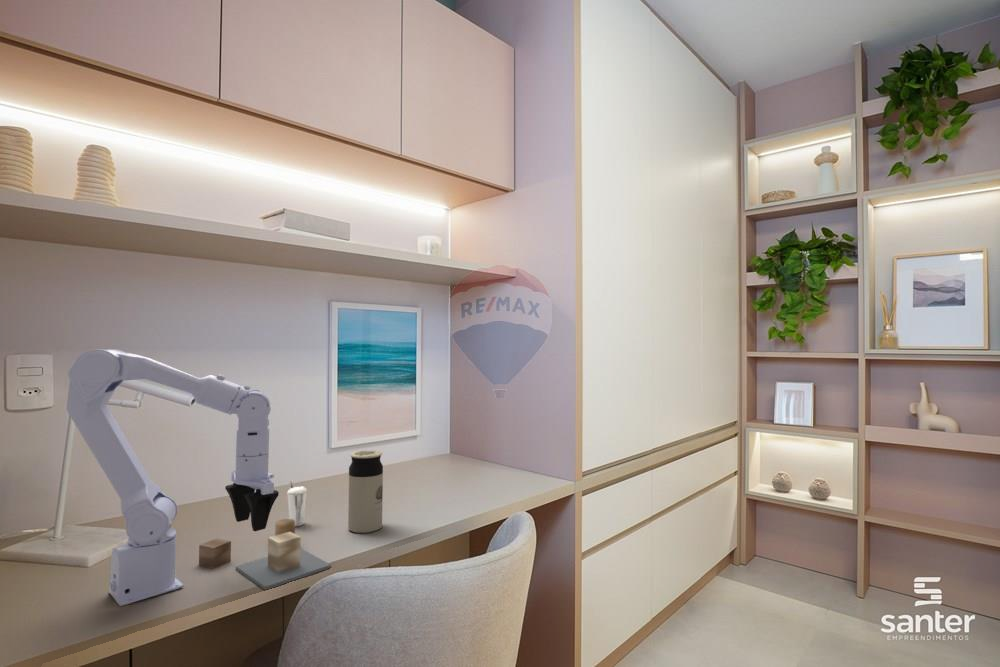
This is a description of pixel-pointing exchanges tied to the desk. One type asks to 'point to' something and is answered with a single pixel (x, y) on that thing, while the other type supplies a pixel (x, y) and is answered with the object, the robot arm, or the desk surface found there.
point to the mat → (271, 578)
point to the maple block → (283, 551)
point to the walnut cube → (214, 553)
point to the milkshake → (297, 504)
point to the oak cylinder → (284, 526)
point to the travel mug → (365, 491)
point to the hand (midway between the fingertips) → (250, 524)
